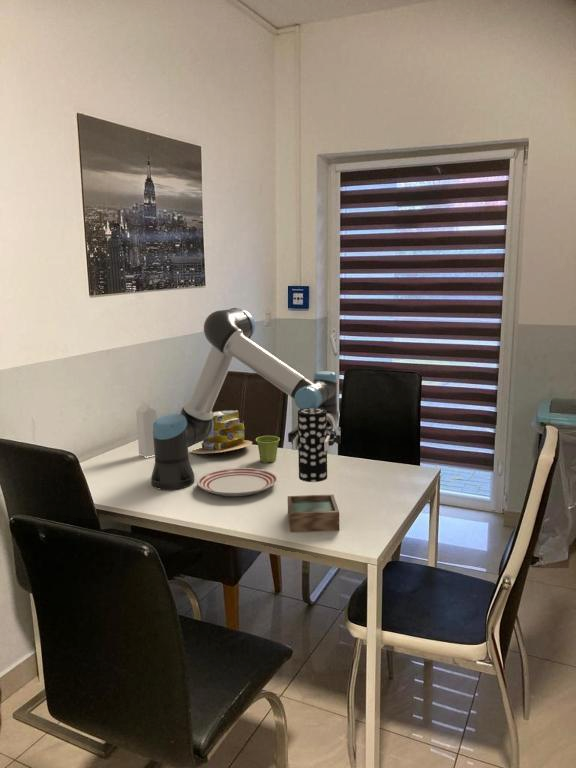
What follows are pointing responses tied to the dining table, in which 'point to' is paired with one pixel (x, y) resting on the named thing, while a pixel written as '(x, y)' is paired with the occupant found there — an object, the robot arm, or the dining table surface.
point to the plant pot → (267, 448)
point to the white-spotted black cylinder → (312, 444)
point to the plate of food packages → (224, 434)
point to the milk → (146, 429)
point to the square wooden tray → (313, 513)
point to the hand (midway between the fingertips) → (309, 445)
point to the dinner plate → (237, 481)
